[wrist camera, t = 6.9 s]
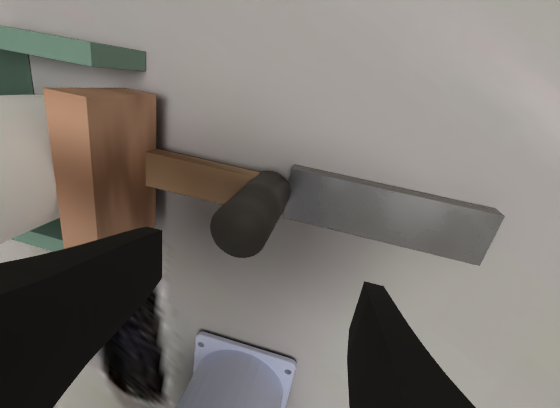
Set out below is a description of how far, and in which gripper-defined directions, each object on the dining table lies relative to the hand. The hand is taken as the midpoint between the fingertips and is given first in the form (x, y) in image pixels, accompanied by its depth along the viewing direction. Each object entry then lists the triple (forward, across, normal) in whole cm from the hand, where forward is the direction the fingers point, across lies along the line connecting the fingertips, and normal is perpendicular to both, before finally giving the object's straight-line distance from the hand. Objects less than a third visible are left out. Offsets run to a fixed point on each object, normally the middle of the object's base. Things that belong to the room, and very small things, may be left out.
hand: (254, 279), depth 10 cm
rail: (+8, -5, 0) cm, 10 cm away
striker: (+7, +5, -1) cm, 9 cm away
